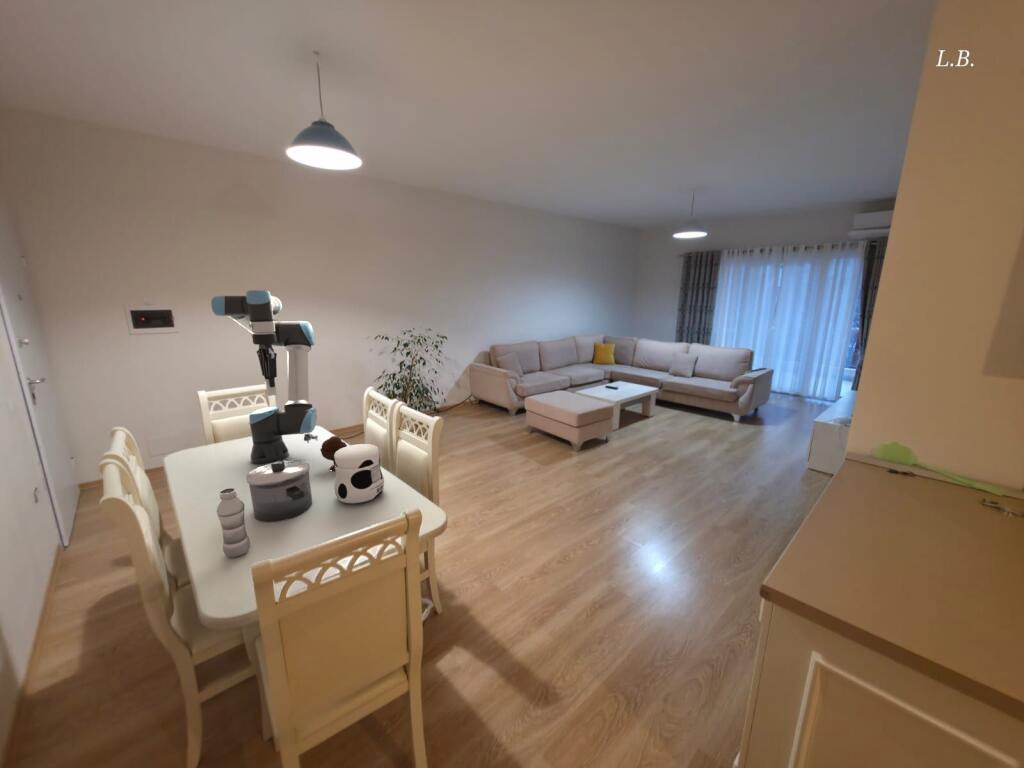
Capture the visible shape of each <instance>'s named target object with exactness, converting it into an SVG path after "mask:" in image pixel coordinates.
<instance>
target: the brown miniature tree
mask: <svg viewBox="0 0 1024 768" xmlns="http://www.w3.org/2000/svg"><path fill="white" fill-rule="evenodd" d="M347 446H348V444H346V442H345V441H342V438H341V437H339V436H338V435H332V436H330V438H327V439H326V440H325V441H323V442H322V445H321V448H319V450H320V453H321V456H322V458H324V459H326V460H328V461H332V462H333V465H331V466H330V467H329V471H330V470H332V471H331V472H335V462H334V454H335V453H336V451H338V450H339V449H341V448H344V447H347Z"/></svg>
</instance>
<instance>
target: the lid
mask: <svg viewBox="0 0 1024 768" xmlns="http://www.w3.org/2000/svg"><path fill="white" fill-rule="evenodd" d="M310 468H311V467H310V463H309V461H307V460H303V459H287V460H280V461H276V462H273V463H267V464H263V465H262V466H259V467H256V468H254V469H253V470H251V471H249V472H248V473H247V475H246V477H245V479H246V483H247V484H248V485H249V484H250V485H255V486H265V485H273V484H279V483H283V482H287V481H290V480H293V479H295V478H298V477H300V476H302V475H304V474H305V473H307V472H308V471H309V472H310V470H311V469H310Z"/></svg>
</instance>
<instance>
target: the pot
mask: <svg viewBox="0 0 1024 768" xmlns="http://www.w3.org/2000/svg"><path fill="white" fill-rule="evenodd" d="M310 479H311V478H310V470H309V471H308V472H307V473H305V474H304V475H302V476H300V477H298V478H295V479H293V480H290V481H287V482H283V483H279V484H273V485H265V486H255V485H250V484H248V485H249V491H250V498H251V503H252V504H251V505H252V511H253V515H254V516H253V517H254V518H255V519H256V520H257V521H259V522H262V523H276V522H277V523H278V522H283V521H288V520H290V519H294V518H296V517H298V516H300V515H303V514H304V513H305V512H307V511H308V510H310V508H311V507H312V505H313V497H312V496H313V495H312V488H311V480H310Z"/></svg>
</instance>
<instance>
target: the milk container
mask: <svg viewBox="0 0 1024 768" xmlns="http://www.w3.org/2000/svg"><path fill="white" fill-rule="evenodd" d="M380 456H381V455H380V450H379V447H378V446H377V445H374V444H372V443H371V444H370V443H359V444H358V443H357V444H352V445H347V447H344V448H341V449H339V450H338V451H336V453H335V454H334V462H335V471H334V472H335V481H334V494H335V496H336V499H337V500H339V502H341V503H343V504H347V505H358V504H365V503H369V502H371V501H373V500H375V499H377V498H378V497H380V495H382V493H383V491H384V489H385V478H384V475H383V472H382V469H381V459H380V458H381V457H380ZM334 462H333V463H334Z"/></svg>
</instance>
